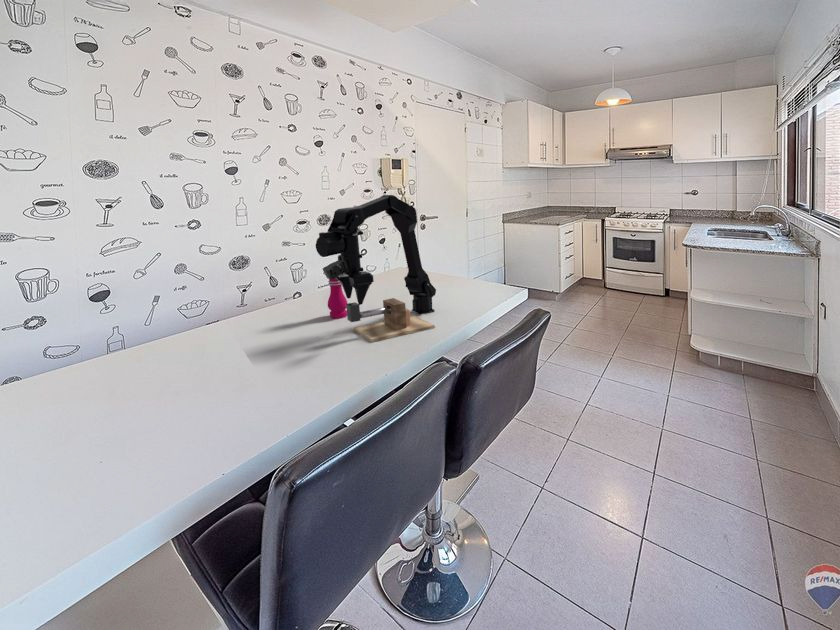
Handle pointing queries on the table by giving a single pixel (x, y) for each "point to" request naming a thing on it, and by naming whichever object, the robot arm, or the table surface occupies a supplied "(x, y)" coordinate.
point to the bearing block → (395, 314)
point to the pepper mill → (337, 300)
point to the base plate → (384, 332)
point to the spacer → (407, 317)
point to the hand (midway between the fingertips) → (354, 301)
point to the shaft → (355, 313)
